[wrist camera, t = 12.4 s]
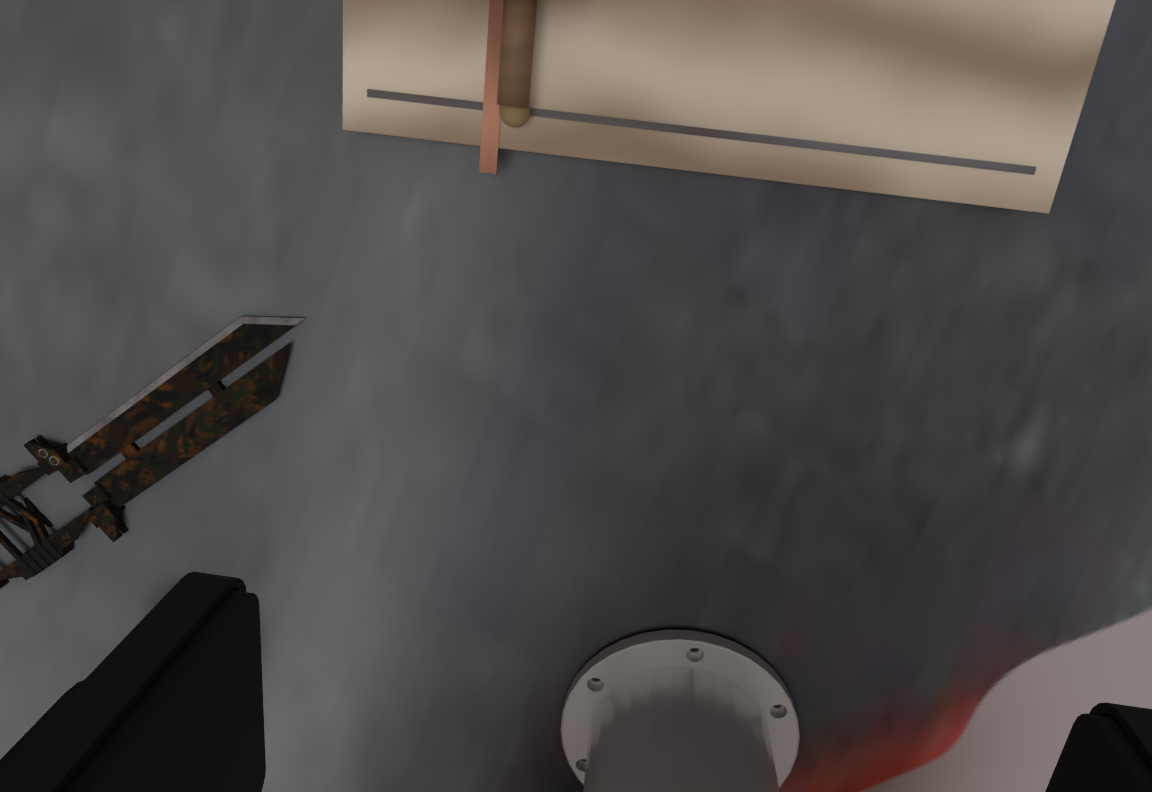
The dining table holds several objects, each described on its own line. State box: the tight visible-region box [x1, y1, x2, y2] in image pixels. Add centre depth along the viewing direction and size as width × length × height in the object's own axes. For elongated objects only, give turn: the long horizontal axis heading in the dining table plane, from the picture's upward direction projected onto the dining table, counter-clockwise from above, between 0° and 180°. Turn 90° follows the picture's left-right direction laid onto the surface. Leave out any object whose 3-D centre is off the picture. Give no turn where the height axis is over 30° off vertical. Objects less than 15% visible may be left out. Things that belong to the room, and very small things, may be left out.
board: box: [343, 0, 1116, 213], centre depth 30 cm, size 13×28×4 cm, turn 84°
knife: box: [0, 316, 305, 588], centre depth 42 cm, size 25×6×1 cm, turn 119°
